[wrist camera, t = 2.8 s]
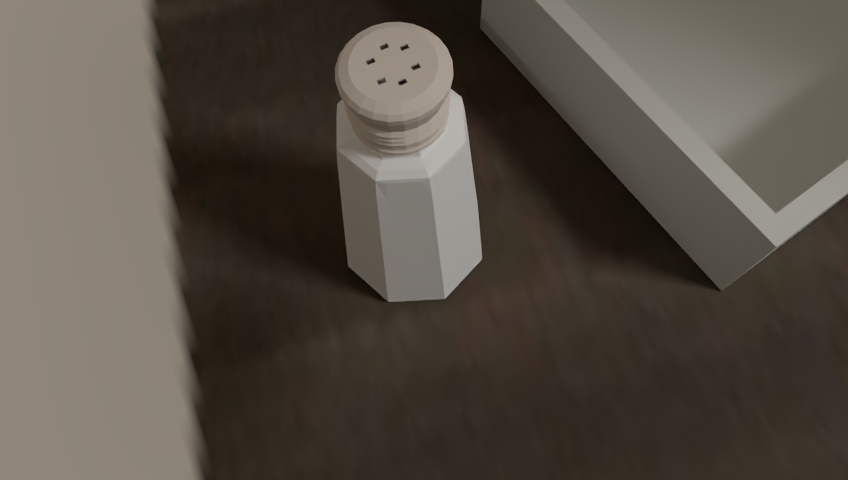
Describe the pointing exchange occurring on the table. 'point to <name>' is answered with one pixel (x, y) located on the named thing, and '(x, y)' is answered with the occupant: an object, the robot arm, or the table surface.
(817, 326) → the table surface
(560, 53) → the box
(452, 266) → the pepper shaker
